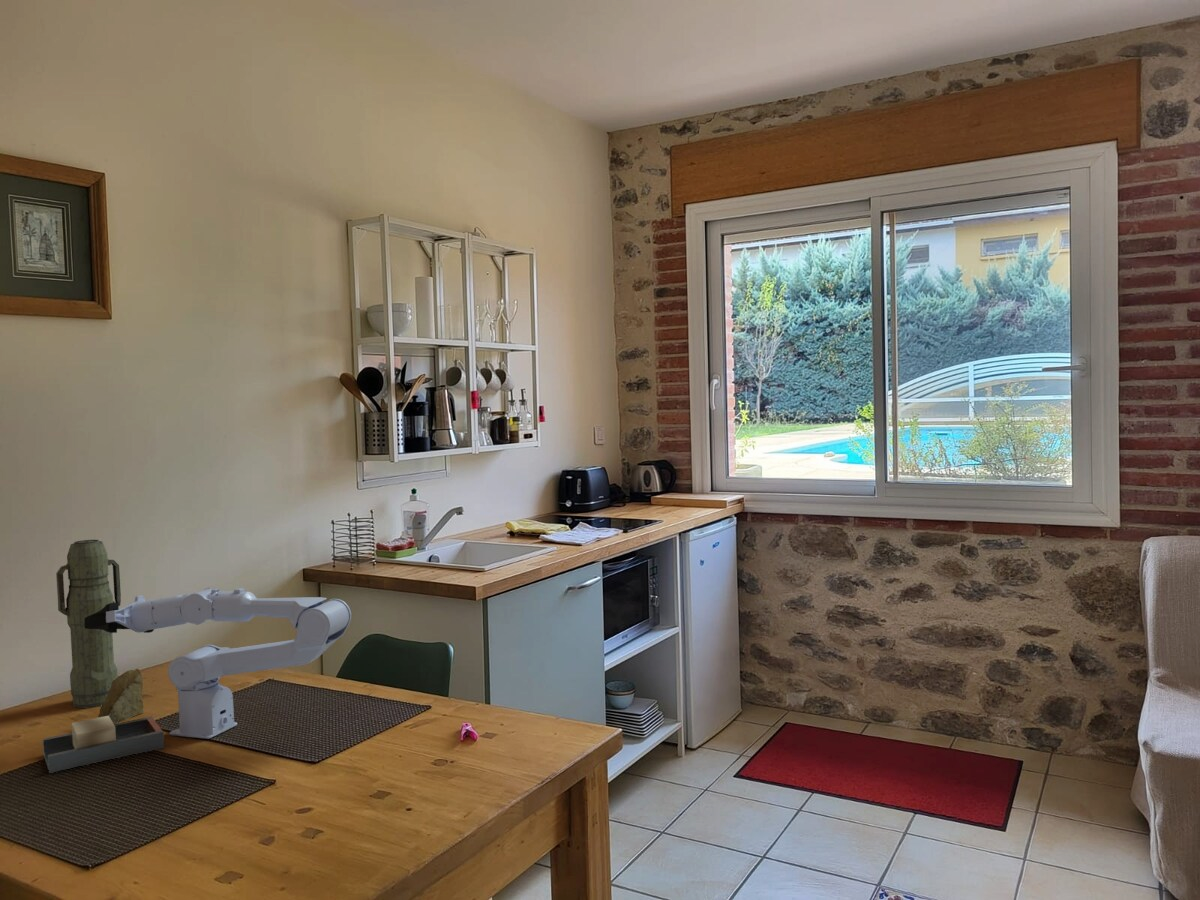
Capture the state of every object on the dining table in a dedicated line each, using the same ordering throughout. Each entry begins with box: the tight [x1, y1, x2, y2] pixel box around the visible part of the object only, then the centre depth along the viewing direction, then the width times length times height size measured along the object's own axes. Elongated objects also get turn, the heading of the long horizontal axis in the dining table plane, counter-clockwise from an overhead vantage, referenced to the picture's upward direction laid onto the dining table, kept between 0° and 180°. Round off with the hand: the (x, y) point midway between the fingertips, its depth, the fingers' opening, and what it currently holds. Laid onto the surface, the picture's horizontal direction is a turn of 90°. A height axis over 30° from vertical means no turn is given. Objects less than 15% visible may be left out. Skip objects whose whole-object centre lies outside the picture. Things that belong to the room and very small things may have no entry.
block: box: [71, 716, 116, 749], centre depth 162 cm, size 6×8×4 cm
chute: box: [42, 716, 165, 774], centre depth 163 cm, size 18×11×3 cm, turn 126°
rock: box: [97, 668, 144, 724], centre depth 181 cm, size 11×9×10 cm
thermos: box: [55, 539, 122, 709], centre depth 193 cm, size 9×12×35 cm
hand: (100, 623), depth 176 cm, fingers open, 7 cm apart
